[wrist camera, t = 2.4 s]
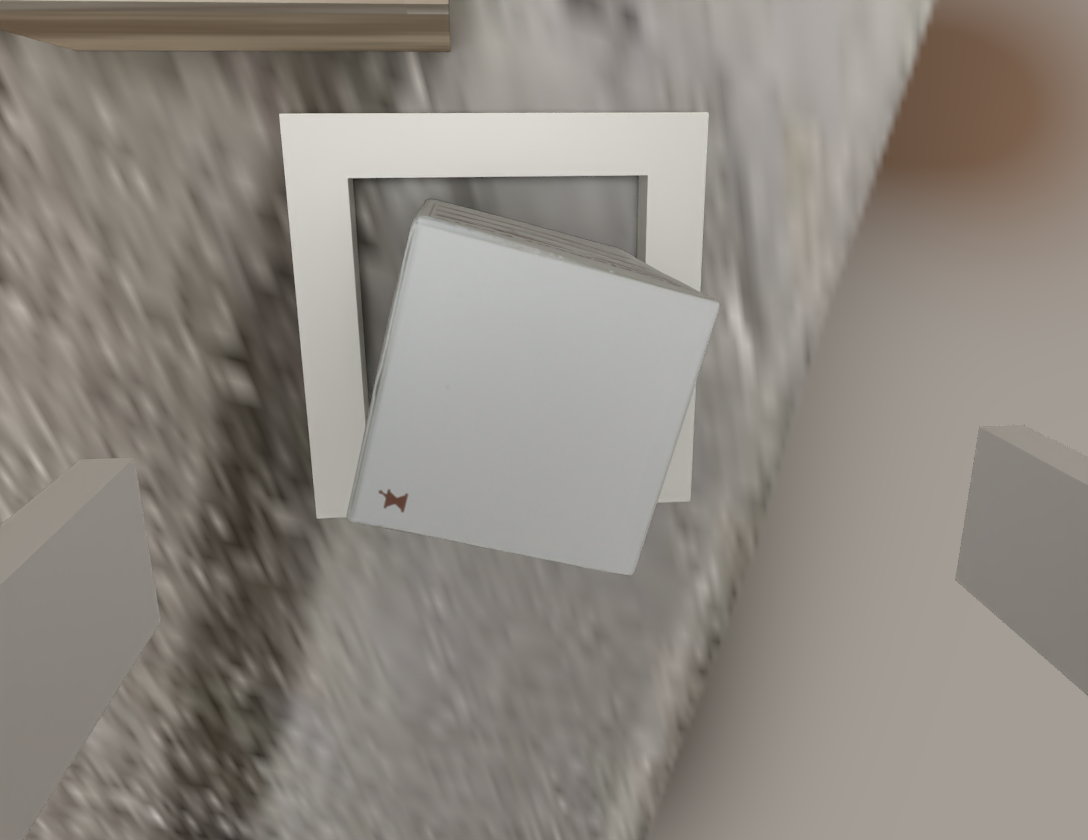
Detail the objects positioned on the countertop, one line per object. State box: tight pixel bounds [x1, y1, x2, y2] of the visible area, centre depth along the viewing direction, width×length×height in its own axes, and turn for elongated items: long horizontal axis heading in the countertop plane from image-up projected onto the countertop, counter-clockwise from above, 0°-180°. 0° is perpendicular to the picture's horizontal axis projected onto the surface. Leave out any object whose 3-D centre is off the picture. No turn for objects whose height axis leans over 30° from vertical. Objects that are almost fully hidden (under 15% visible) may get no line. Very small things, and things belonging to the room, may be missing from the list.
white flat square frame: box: [279, 112, 709, 518], centre depth 31 cm, size 14×14×2 cm
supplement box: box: [346, 199, 720, 575], centre depth 26 cm, size 7×7×13 cm
